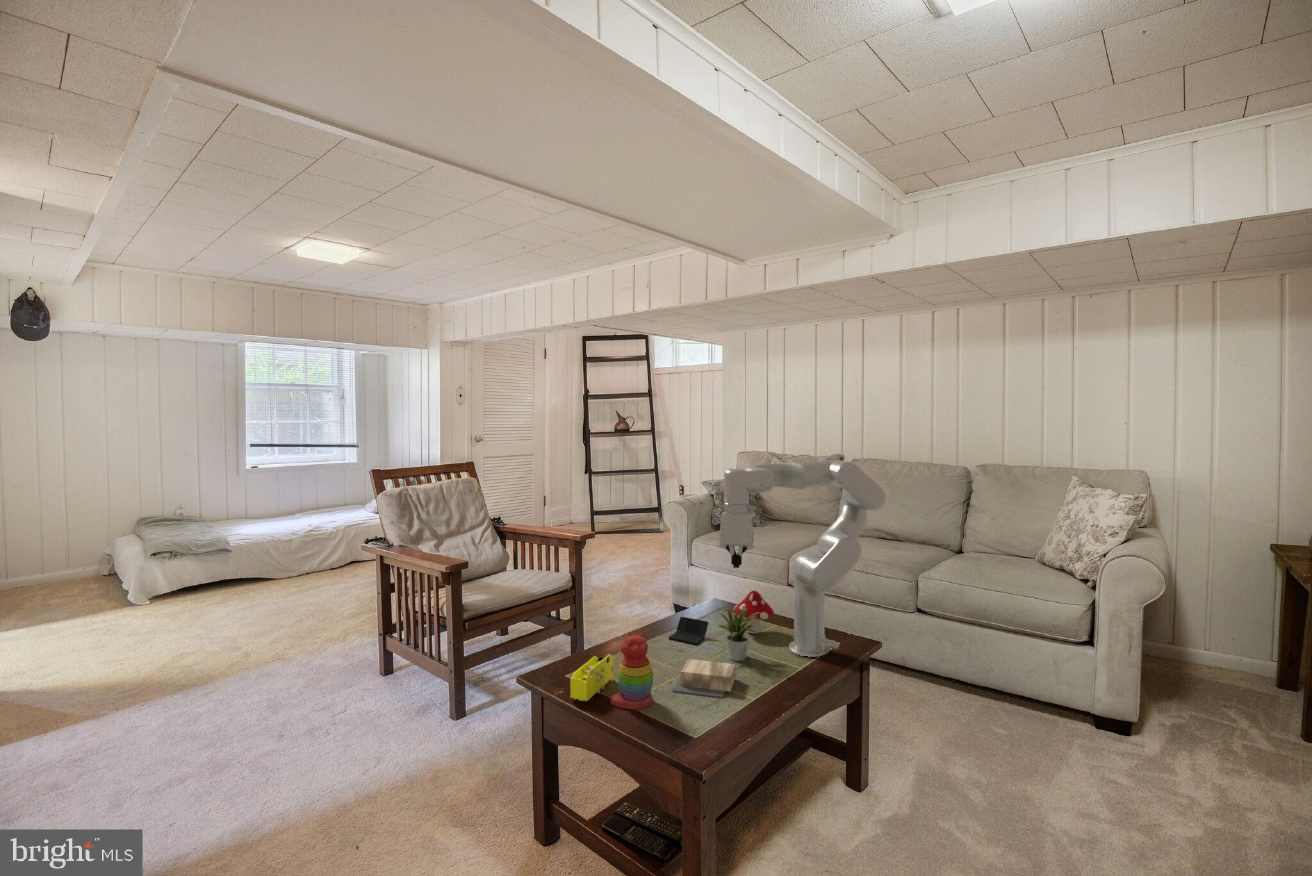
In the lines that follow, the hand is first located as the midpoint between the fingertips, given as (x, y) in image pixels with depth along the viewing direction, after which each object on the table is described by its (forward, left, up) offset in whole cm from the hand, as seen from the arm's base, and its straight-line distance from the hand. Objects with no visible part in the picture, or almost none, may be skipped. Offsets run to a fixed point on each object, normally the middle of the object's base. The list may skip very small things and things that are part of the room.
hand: (736, 566), depth 191 cm
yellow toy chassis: (+35, +33, -29) cm, 56 cm away
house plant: (-1, +1, -29) cm, 29 cm away
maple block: (-2, +20, -27) cm, 33 cm away
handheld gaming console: (+18, -12, -29) cm, 37 cm away
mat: (+7, +20, -29) cm, 36 cm away
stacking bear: (+22, +36, -29) cm, 51 cm away
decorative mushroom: (-3, -23, -29) cm, 37 cm away
